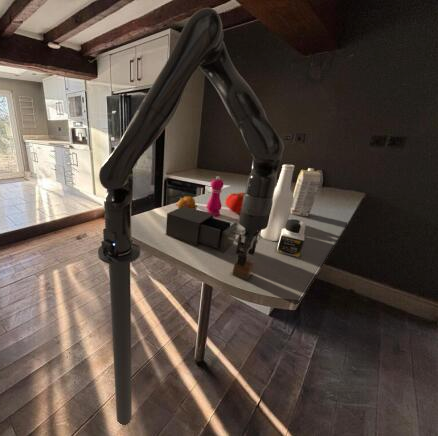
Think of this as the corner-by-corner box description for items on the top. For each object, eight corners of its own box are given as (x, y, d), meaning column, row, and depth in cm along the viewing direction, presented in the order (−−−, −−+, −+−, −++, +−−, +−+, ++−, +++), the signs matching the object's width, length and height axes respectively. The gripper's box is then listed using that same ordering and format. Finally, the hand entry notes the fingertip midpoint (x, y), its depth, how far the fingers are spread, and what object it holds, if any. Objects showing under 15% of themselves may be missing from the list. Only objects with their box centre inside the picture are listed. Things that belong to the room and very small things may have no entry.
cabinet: (211, 235, 98) (214, 214, 94) (196, 245, 89) (199, 223, 85) (181, 225, 107) (183, 205, 103) (165, 234, 98) (167, 213, 94)
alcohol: (255, 234, 99) (270, 164, 88) (267, 230, 103) (284, 162, 92) (274, 243, 92) (293, 167, 81) (287, 238, 96) (307, 166, 85)
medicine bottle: (276, 251, 86) (284, 222, 82) (278, 244, 92) (285, 216, 87) (299, 257, 83) (308, 227, 78) (299, 249, 88) (308, 220, 84)
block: (246, 280, 70) (249, 268, 68) (232, 274, 72) (234, 262, 71) (251, 274, 73) (254, 262, 71) (237, 268, 76) (239, 257, 74)
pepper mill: (217, 217, 116) (223, 178, 109) (204, 214, 120) (208, 176, 112) (221, 213, 122) (227, 175, 115) (208, 210, 126) (213, 174, 118)
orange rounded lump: (201, 212, 123) (201, 195, 118) (190, 222, 117) (189, 205, 111) (185, 207, 129) (184, 191, 124) (174, 216, 123) (172, 200, 117)
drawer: (245, 244, 89) (249, 226, 86) (234, 256, 81) (238, 236, 78) (203, 231, 99) (205, 214, 96) (190, 240, 91) (191, 222, 88)
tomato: (235, 205, 135) (238, 188, 131) (260, 214, 122) (264, 196, 118) (218, 209, 128) (220, 192, 124) (243, 219, 115) (246, 200, 111)
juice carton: (308, 212, 126) (321, 168, 117) (309, 217, 119) (324, 171, 110) (288, 209, 130) (300, 166, 121) (289, 214, 123) (301, 169, 114)
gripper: (250, 201, 72) (241, 246, 78) (232, 213, 62) (224, 264, 68) (276, 206, 67) (265, 254, 74) (262, 220, 57) (250, 275, 63)
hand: (245, 259), depth 71 cm, fingers open, 8 cm apart
